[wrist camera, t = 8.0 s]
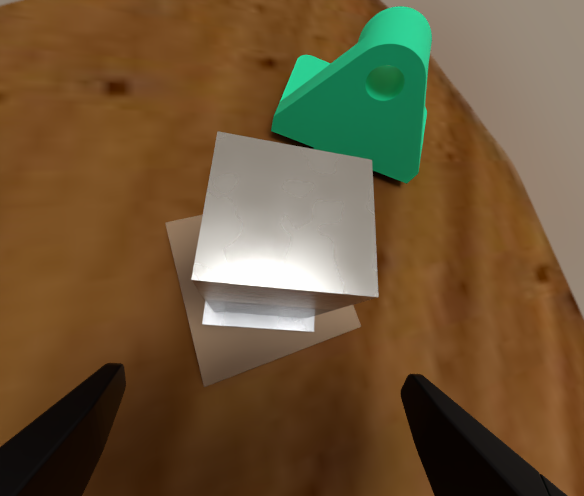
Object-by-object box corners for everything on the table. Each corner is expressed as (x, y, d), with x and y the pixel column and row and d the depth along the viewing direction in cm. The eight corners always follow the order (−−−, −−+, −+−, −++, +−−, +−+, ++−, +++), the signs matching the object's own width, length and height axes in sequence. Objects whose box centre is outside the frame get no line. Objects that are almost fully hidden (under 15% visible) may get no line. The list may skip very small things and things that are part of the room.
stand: (351, 327, 19) (361, 326, 18) (206, 382, 16) (204, 387, 15) (304, 201, 22) (309, 192, 20) (170, 231, 19) (165, 222, 17)
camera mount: (410, 125, 27) (508, 7, 17) (399, 190, 24) (508, 91, 15) (294, 78, 26) (331, -76, 16) (269, 140, 23) (295, -2, 13)
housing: (311, 332, 17) (394, 323, 8) (202, 324, 16) (166, 306, 7) (314, 234, 19) (383, 145, 10) (219, 222, 18) (205, 110, 9)
